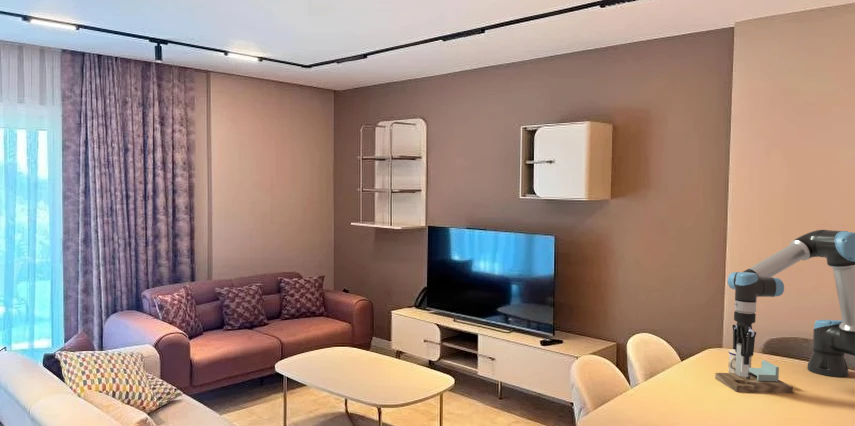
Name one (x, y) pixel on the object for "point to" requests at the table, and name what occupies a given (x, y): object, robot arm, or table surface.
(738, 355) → the pin
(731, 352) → the teacup with lid
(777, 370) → the cover
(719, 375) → the base
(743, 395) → the table surface
